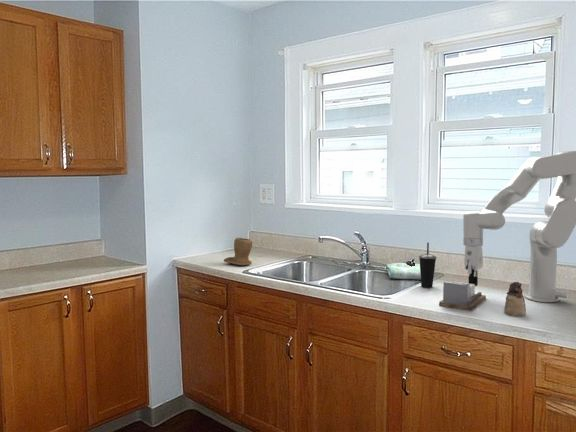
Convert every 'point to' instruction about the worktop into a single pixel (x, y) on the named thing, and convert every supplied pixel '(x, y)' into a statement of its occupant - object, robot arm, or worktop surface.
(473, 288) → the gauge carriage
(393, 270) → the towel
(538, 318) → the worktop surface
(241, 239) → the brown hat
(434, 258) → the drinking cup
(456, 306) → the base
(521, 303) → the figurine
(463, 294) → the grey rectangular block
